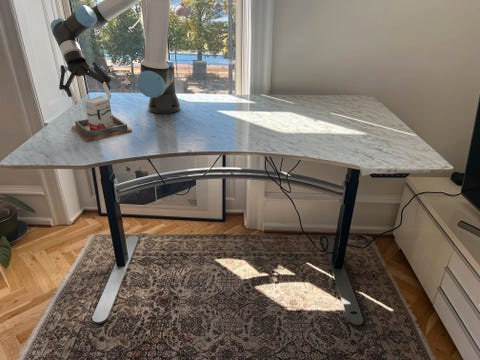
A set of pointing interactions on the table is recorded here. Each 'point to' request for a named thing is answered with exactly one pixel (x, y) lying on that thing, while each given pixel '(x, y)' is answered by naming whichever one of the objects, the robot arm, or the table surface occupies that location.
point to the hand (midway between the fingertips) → (93, 100)
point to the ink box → (99, 113)
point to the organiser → (91, 135)
